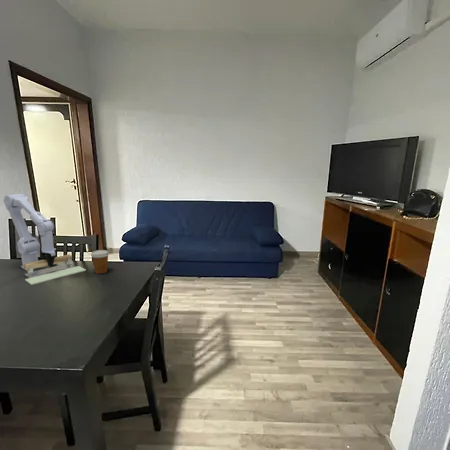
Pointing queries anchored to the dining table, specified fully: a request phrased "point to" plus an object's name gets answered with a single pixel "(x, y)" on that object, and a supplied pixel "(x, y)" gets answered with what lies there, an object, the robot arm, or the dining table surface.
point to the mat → (54, 275)
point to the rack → (48, 270)
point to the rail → (44, 262)
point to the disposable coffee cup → (100, 261)
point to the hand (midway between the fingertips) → (49, 265)
